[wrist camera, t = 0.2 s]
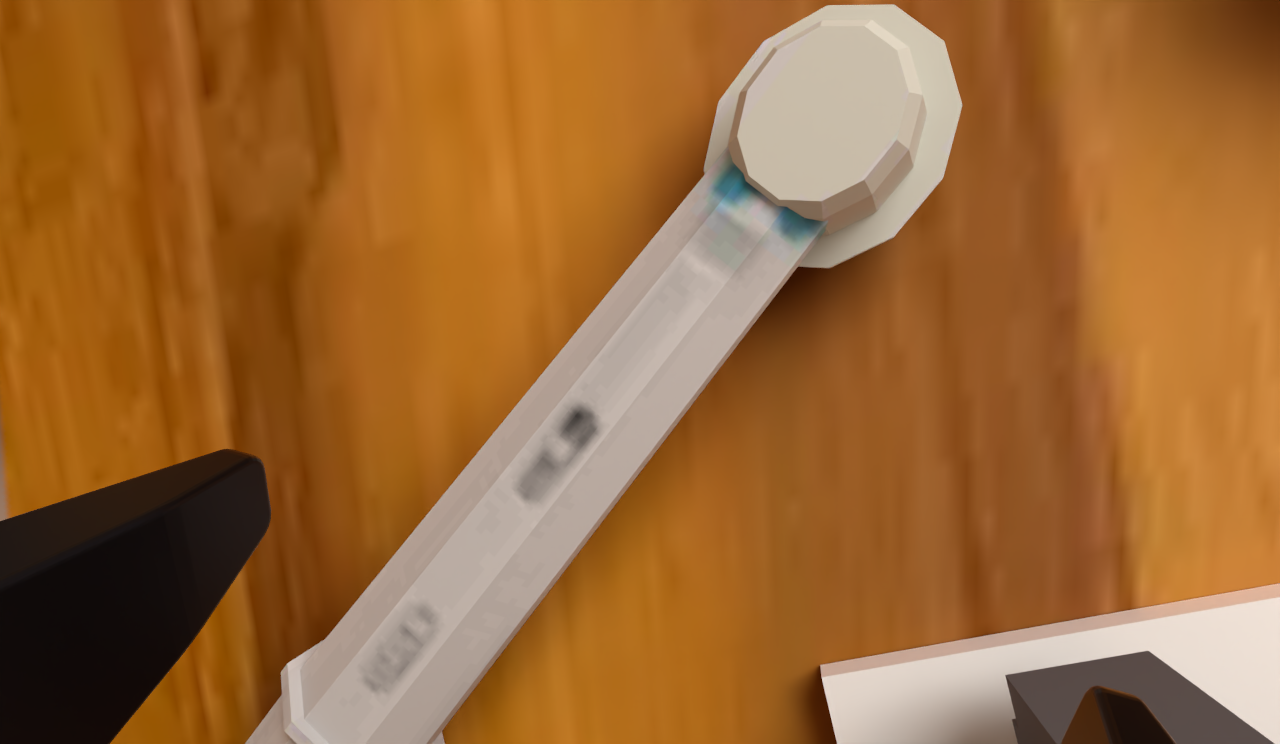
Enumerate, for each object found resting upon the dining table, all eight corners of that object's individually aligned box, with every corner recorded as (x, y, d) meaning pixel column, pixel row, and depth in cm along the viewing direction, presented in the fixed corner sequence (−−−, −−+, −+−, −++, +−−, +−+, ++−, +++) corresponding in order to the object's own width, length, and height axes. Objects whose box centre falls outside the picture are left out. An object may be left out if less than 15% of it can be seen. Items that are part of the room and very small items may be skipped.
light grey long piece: (167, 773, 22) (817, -122, 17) (325, 664, 29) (832, -8, 23) (316, 925, 22) (1049, 44, 16) (444, 778, 28) (997, 114, 22)
